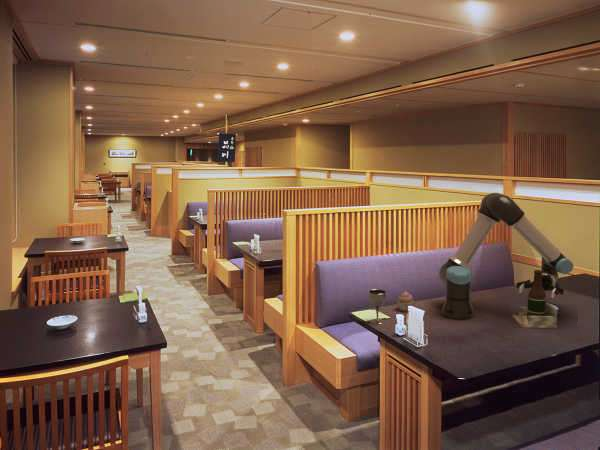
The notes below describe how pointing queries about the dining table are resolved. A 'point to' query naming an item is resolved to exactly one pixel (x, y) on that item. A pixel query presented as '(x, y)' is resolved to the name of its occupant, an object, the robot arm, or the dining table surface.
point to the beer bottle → (536, 297)
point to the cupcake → (405, 301)
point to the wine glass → (377, 302)
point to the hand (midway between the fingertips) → (535, 292)
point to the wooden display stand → (537, 318)
